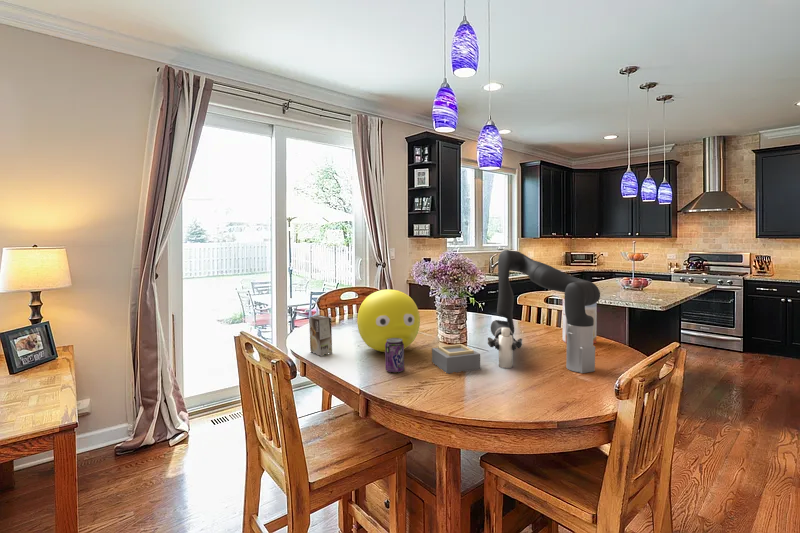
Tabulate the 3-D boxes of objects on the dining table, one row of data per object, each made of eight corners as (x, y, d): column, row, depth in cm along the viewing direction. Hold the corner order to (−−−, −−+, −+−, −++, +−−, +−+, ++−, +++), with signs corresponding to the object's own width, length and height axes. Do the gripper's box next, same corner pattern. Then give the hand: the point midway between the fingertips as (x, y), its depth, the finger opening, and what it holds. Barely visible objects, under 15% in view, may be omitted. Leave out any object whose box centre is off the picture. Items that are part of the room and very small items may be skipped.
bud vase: (515, 367, 163) (515, 329, 162) (503, 368, 161) (503, 330, 160) (507, 363, 168) (507, 326, 167) (496, 364, 166) (496, 327, 165)
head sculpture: (365, 363, 171) (363, 295, 169) (353, 345, 198) (351, 287, 196) (429, 356, 179) (428, 292, 177) (409, 341, 206) (408, 284, 204)
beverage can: (388, 374, 157) (387, 342, 156) (383, 368, 163) (383, 338, 162) (406, 372, 158) (406, 341, 158) (401, 367, 165) (400, 337, 164)
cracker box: (592, 340, 201) (592, 297, 200) (596, 344, 195) (597, 299, 194) (561, 340, 203) (562, 297, 201) (565, 343, 197) (566, 299, 195)
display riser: (480, 369, 161) (480, 351, 161) (446, 373, 157) (446, 355, 156) (463, 359, 174) (463, 342, 174) (432, 362, 170) (431, 345, 170)
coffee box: (333, 353, 185) (332, 317, 184) (320, 356, 181) (319, 319, 180) (322, 349, 192) (321, 314, 191) (309, 352, 188) (308, 316, 187)
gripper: (486, 327, 179) (486, 337, 163) (521, 328, 176) (525, 338, 160) (486, 345, 180) (486, 356, 163) (521, 346, 177) (525, 358, 160)
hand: (505, 347), depth 162 cm, fingers closed on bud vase, 5 cm apart
